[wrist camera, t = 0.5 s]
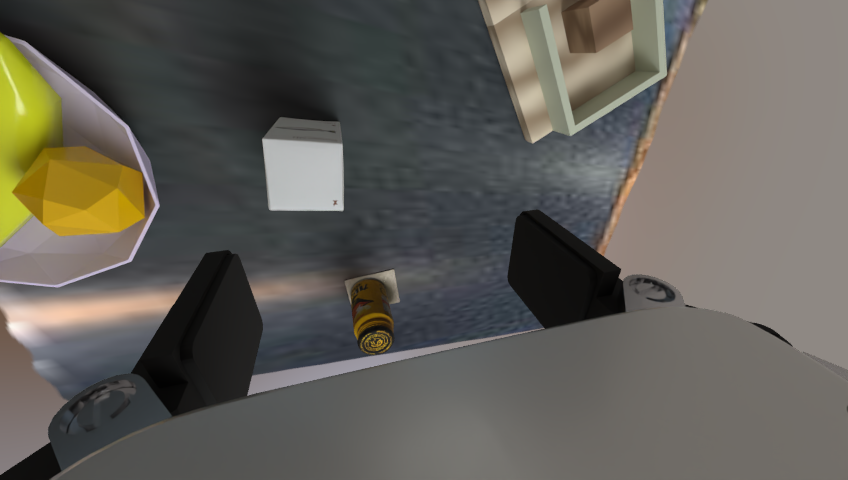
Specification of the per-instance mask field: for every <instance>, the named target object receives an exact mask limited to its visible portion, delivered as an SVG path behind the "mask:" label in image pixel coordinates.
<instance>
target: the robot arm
mask: <svg viewBox="0 0 848 480" xmlns="http://www.w3.org/2000/svg"><path fill="white" fill-rule="evenodd" d="M620 272H621V269H620V268H619V267H617V266H616V265H615V264H613V263H612V262H610V261H609V260H608V259H606V258H605V257H604V256H602V255H601V254H599V253H598V252H597V251H595V250H594V249H592V248H591V247H590V246H588V245H587V244H586V243H584V242H583V241H581V240H580V239H579V238H577V237H576V236H574V235H573V234H572V233H570V232H569V231H568V230H566V229H565V228H563V227H562V226H561V225H559V224H558V223H556V222H555V221H554V220H552V219H551V218H550V217H548V216H547V215H545V214H544V213H543V212H541V211H540V210H530V211H523V212H522V213H521V214H520V216H518V217H517V218H516V222H515V229H514V236H513V243H512V249H511V256H510V263H509V270H508V282H509V284H510V286H511V287H512V288H513V289H514V291H515V292H516V293H517V294H518V296H519V297H520V298H521V299H522V301H523V302H524V303H525V304H526V306H527V307H528V308H529V309H530V311H531V312H532V313H533V314H534V316H535V317H536V318H537V319H538V321H539V322H540V323H541V324H542V326H543V327H544V328H545V329H541V330H537V331H532V332H528V333H523V334H518V335H514V336H509V337H505V338H500V339H495V340H491V341H486V342H482V343H477V344H473V345H468V346H463V347H459V348H454V349H451V350H446V351H441V352H437V353H432V354H428V355H424V356H419V357H414V358H410V359H405V360H401V361H396V362H392V363H387V364H383V365H379V366H374V367H370V368H366V369H361V370H357V371H353V372H348V373H344V374H339V375H335V376H331V377H326V378H322V379H317V380H313V381H309V382H304V383H300V384H296V385H291V386H287V387H283V388H278V389H274V390H269V391H265V392H261V393H256V394H252V395H249V396H247V394H248V390H249V385H250V381H251V377H252V373H253V369H254V364H255V360H256V356H257V352H258V348H259V343H260V339H261V335H262V330H263V323H262V319H261V316H260V313H259V310H258V307H257V305H256V302H255V299H254V296H253V294H252V291H251V288H250V285H249V282H248V280H247V277H246V274H245V271H244V269H243V266H242V263H241V260H240V258H239V256H238V254H232V253H231V252H230V251H229V250H225V251H218V252H210V253H206V254H205V255H204V257H203V259H202V260H201V262H200V263H199V265H198V267H197V268H196V270H195V271H194V273H193V275H192V276H191V278H190V280H189V281H188V283H187V284H186V286H185V288H184V289H183V291H182V292H181V294H180V296H179V297H178V299H177V301H176V302H175V304H174V305H173V306H172V308H171V309H170V311H169V313H168V314H167V316H166V317H165V319H164V321H163V322H162V324H161V325H160V327H159V329H158V330H157V332H156V333H155V335H154V337H153V338H152V340H151V341H150V343H149V345H148V346H147V348H146V350H145V351H144V353H143V354H142V356H141V358H140V359H139V361H138V362H137V364H136V366H135V367H134V369H133V370H132V372H131V374H129V373H128V374H121V375H116V376H113V377H110V378H107V379H104V380H102V381H99V382H97V383H95V384H93V385H91V386H89V387H88V388H86V389H85V390H83V391H81V392H80V393H78V394H77V395H75V396H74V397H73V398H72V399H71V400H69V401H68V402H67V403H66V404H65V405H64V406H63V407H62V408H61V409H60V410H59V411H58V412H57V414H56V415H55V416H54V417H53V419H52V421H51V423H50V425H49V427H48V436H49V439H50V443H48V444H47V445H45V446H44V447H42V448H41V449H39V450H38V451H36V452H35V453H33V454H32V455H30V456H29V457H27V458H25V459H24V460H22V461H21V462H19V463H18V464H17V465H15V466H13V467H12V468H10V469H9V470H7V471H6V472H4V473H3V474H1V475H0V480H848V370H846V369H844V368H842V367H839V366H837V365H834V364H832V363H829V362H827V361H825V360H822V359H820V358H817V357H815V356H812V355H810V354H808V353H805V352H803V353H802V352H800V351H799V350H797V349H795V348H794V347H793V346H792V345H791V344H790V343H789V342H788V341H787V340H785V339H784V338H783V337H781V336H780V335H779V334H778V333H776V332H775V331H774V330H772V329H770V328H768V327H766V326H764V325H761V324H757V323H751V322H748V321H745V320H743V319H741V318H739V317H736V316H734V315H731V314H727V313H723V312H718V311H713V310H708V309H700V308H696V307H692V306H689V305H685V303H684V300H683V297H682V296H681V294H680V292H679V291H678V290H677V289H676V288H675V287H674V286H672V285H670V284H669V283H667V282H665V281H663V280H660V279H658V278H655V277H651V276H646V275H630V276H627V277H626V278H625V279H624V281H622V280H621V279H619V278H618V277H619V274H620Z"/></svg>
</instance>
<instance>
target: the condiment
mask: <svg viewBox="0 0 848 480" xmlns="http://www.w3.org/2000/svg"><path fill="white" fill-rule="evenodd" d="M381 280H382V281H381ZM383 281H385V282H383ZM344 282H345V286H346V289H347V293H348V296H349V299H350V303H351V306H352V316H353V327H354V333H355V336H356V337H357V340H358V346H359V349H360V350H361V351H362V352H364V353H366V354H368V355H378V354H382V353H384V352H386V351H387V350H389V349H390V347H391V346H392V344H393V342H394V333H393V328H394V322H393V318H392V314H391V310H390V306H389V304H393V303H397V302H400V300H399V295H398V290H397V284H396V279H395V273H394V269H393V270H389V271H385V272H381V273H377V274H371V275H366V276H362V277H358V278H354V279H349V280H346V281H344Z"/></svg>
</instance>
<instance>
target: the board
mask: <svg viewBox="0 0 848 480" xmlns="http://www.w3.org/2000/svg"><path fill="white" fill-rule="evenodd" d="M578 1H579V0H478V2H479V5H480V8H481V10H482V13H483V16H484V19H485V22H486V25H487V28H488V31H489V34H490V37H491V40H492V43H493V46H494V49H495V52H496V55H497V58H498V61H499V63H500V66H501V69H502V72H503V75H504V78H505V81H506V84H507V87H508V90H509V93H510V96H511V99H512V102H513V105H514V108H515V111H516V113H517V116H518V119H519V122H520V125H521V128H522V131H523V134H524V137H525V140H526V141H528V142H531V143H534V142H536V141H537V140H539V139H540V138H542V137H543V136H545V135H547V134H548V133H550V132H551V131H553V128H552V125H551V121H550V118H549V114H548V111H547V107H546V103H545V100H544V96H543V93H542V89H541V86H540V82H539V78H538V75H537V71H536V68H535V64H534V61H533V57H532V53H531V50H530V46H529V43H528V39H527V36H526V32H525V28H524V25H523V21H522V18H521V14H520V13H522V12H523V11H525V10H526V9H528V8H532V7H537V6H541V5H545V4H547V8H548V12H549V16H550V21H551V25H552V29H553V33H554V38H555V42H556V46H557V51H558V55H559V59H560V63H561V68H562V72H563V76H564V80H565V85H566V89H567V93H568V97H569V102H570V106H571V110H572V111H573V110H575V109H576V108H578V107H580V106H581V105H583V104H584V103H586V102H587V101H589V100H591V99H592V98H594V97H595V96H597V95H599V94H600V93H602V92H603V91H605V90H606V89H608V88H610V87H611V86H613V85H614V84H616V83H617V82H619V81H621V80H622V79H624V78H625V77H627V76H628V75H630V74H632V73H633V72H635V61H634V52H633V43H632V33H631V31H630V32H629V33H627V34H625V35H624V36H622V37H621V38H619V39H618V40H616V41H615V42H613V43H611V44H610V45H608V46H607V47H605V48H604V49H602V50H601V51H599V52H597V53H570V51H569V47H568V42H567V37H566V33H565V28H564V23H563V19H562V14H561V12H562V11H564V10H565V9H567V8H568V7H570V6H572V5H573V4H575V3H576V2H578Z"/></svg>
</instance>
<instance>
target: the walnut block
mask: <svg viewBox="0 0 848 480" xmlns="http://www.w3.org/2000/svg"><path fill="white" fill-rule="evenodd" d="M561 14H562V19H563V23H564V28H565V33H566V37H567V42H568V47H569V51H570V53H597V52H599V51H601V50H602V49H604V48H605V47H607V46H608V45H610V44H611V43H613V42H615V41H616V40H618V39H619V38H621V37H622V36H624V35H625V34H627V33H629V32H630V31H632V30H633V20H632V11H631V1H630V0H579V1H578V2H576V3H575V4H573V5H572V6H570V7H568V8H567V9H565V10H564V11H562V12H561Z"/></svg>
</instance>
